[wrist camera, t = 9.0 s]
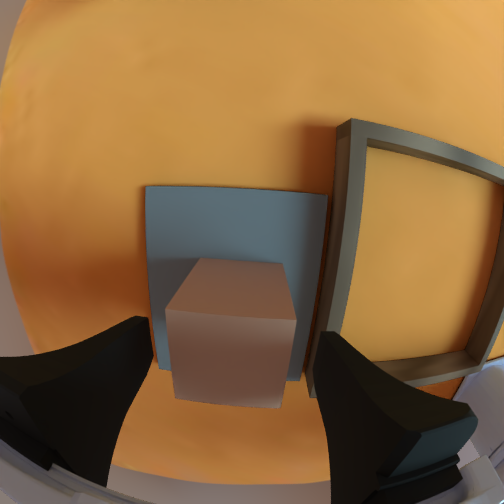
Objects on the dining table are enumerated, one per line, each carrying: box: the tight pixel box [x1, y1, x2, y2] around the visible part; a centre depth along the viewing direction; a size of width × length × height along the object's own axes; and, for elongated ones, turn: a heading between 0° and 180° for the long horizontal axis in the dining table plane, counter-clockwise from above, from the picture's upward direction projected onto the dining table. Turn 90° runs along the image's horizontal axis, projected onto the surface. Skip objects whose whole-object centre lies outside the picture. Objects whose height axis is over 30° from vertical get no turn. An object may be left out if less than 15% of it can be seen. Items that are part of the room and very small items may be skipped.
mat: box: [145, 186, 328, 381], centre depth 15 cm, size 10×12×1 cm
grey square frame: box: [305, 118, 504, 398], centre depth 14 cm, size 16×16×2 cm
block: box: [165, 258, 297, 408], centre depth 12 cm, size 4×4×6 cm
